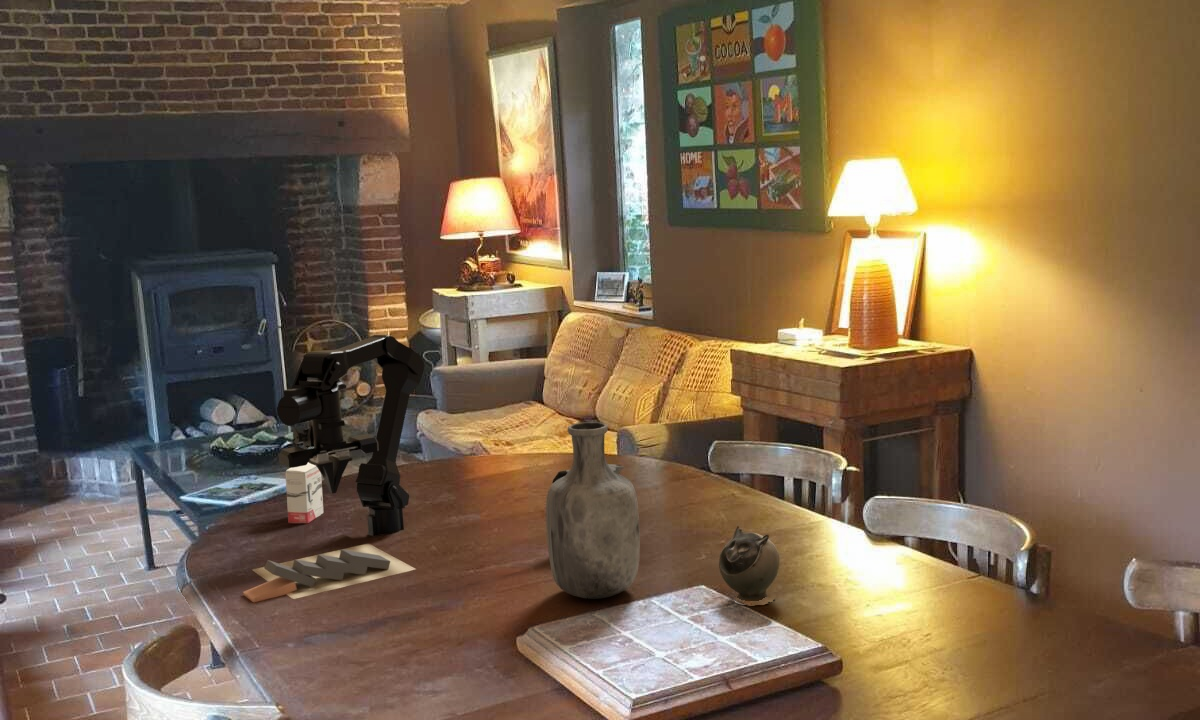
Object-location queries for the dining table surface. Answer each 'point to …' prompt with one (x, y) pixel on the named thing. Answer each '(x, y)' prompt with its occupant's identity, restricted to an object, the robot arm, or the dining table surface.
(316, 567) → the domino
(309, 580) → the domino
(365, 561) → the domino
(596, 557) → the vase
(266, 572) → the domino board
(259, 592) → the end tile
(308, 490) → the ink box
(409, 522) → the dining table surface
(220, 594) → the dining table surface
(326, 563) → the domino
